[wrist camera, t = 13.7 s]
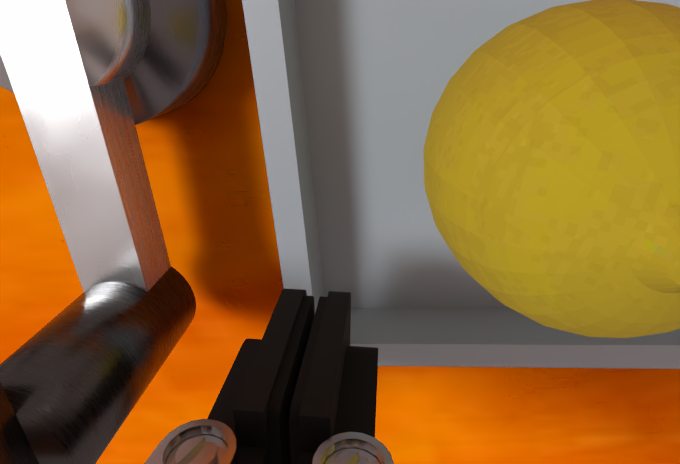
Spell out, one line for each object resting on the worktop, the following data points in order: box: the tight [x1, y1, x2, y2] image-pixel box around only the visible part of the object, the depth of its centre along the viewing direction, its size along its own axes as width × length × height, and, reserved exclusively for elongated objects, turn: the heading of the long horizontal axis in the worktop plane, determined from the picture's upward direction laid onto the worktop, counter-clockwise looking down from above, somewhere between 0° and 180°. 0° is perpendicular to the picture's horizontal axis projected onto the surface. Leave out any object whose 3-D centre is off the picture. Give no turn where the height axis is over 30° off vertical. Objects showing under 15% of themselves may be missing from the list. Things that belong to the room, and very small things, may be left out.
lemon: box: [424, 0, 680, 338], centre depth 9 cm, size 6×6×8 cm
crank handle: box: [0, 0, 196, 464], centre depth 9 cm, size 12×4×7 cm, turn 4°
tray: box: [242, 0, 680, 369], centre depth 12 cm, size 13×13×2 cm
